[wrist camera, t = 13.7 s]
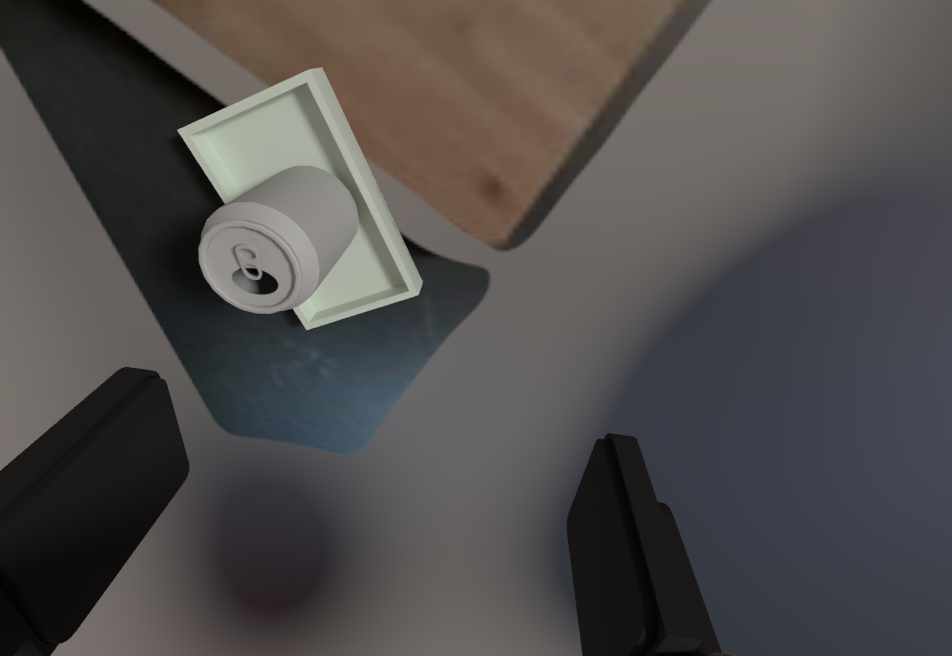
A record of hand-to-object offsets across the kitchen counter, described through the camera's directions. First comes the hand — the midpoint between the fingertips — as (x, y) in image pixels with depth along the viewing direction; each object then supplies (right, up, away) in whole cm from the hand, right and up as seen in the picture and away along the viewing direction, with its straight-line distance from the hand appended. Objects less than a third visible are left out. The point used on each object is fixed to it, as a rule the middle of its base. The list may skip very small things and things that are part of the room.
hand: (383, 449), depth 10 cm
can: (-11, +13, +28) cm, 33 cm away
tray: (-11, +13, +29) cm, 33 cm away
